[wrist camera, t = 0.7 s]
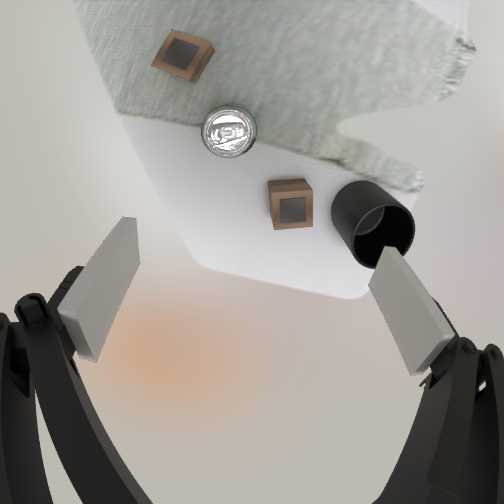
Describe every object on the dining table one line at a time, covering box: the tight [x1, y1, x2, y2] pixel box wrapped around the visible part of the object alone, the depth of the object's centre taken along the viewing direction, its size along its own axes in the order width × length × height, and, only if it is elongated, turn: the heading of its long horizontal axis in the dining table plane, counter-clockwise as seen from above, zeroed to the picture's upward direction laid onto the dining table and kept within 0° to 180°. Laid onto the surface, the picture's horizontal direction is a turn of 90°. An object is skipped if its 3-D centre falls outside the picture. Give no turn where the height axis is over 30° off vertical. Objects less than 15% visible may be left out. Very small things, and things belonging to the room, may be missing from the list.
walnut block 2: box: [268, 179, 313, 230], centre depth 36 cm, size 5×5×5 cm
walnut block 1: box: [151, 29, 215, 83], centre depth 26 cm, size 5×5×5 cm
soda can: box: [201, 104, 257, 158], centre depth 27 cm, size 5×5×12 cm
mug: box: [332, 181, 415, 269], centre depth 36 cm, size 9×12×9 cm
